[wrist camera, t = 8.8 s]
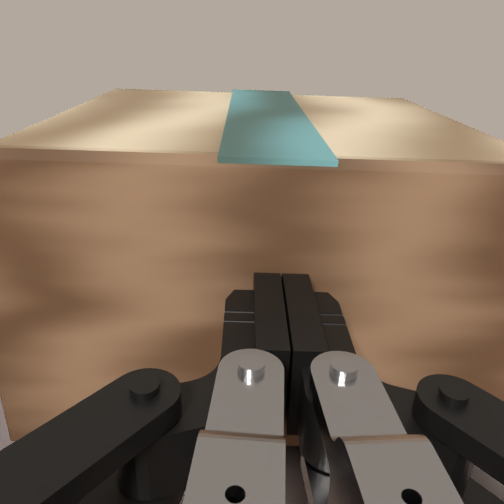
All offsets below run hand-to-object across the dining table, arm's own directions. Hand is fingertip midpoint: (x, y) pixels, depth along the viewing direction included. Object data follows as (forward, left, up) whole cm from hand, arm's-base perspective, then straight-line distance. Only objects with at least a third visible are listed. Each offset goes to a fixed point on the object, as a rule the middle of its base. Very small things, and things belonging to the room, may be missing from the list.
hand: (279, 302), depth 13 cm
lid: (0, +8, -5) cm, 9 cm away
